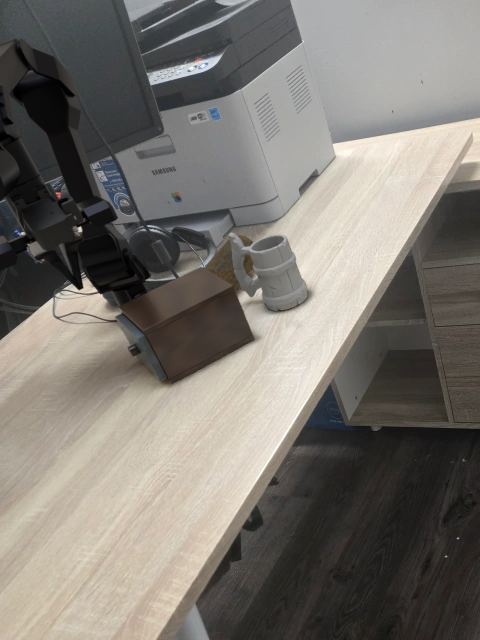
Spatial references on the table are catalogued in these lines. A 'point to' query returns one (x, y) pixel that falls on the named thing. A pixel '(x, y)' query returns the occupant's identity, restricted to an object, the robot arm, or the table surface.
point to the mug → (270, 271)
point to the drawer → (140, 347)
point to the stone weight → (229, 262)
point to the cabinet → (190, 322)
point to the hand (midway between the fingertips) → (80, 288)
